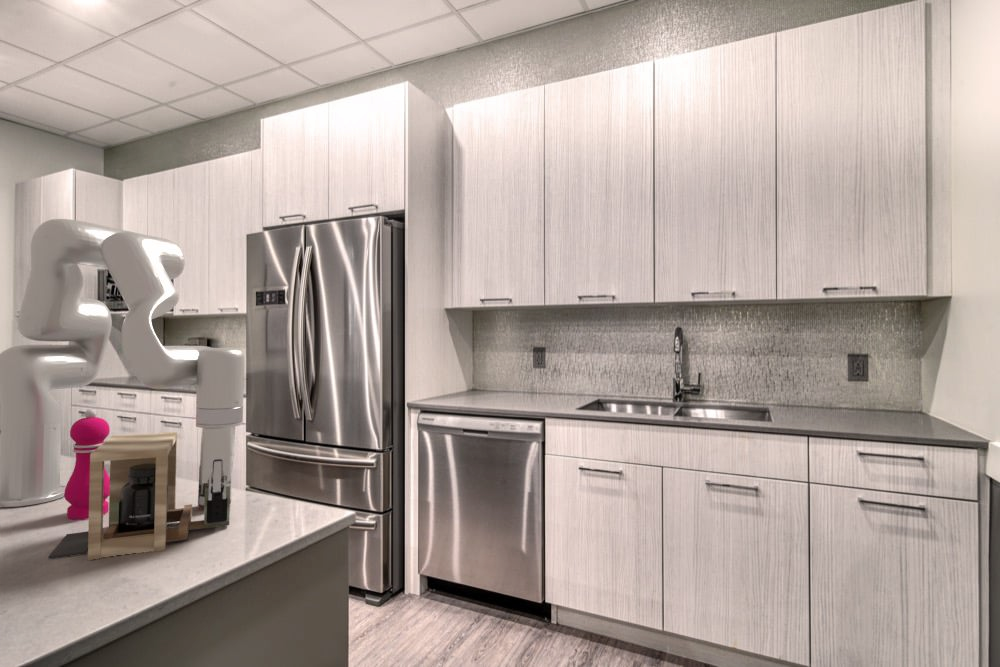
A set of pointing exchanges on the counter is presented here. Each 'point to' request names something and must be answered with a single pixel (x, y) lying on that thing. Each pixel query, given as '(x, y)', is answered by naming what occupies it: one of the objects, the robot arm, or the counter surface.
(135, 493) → the supplement bottle
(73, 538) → the mat
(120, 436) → the tunnel
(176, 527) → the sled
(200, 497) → the supplement bottle
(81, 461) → the pepper mill
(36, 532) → the counter surface
